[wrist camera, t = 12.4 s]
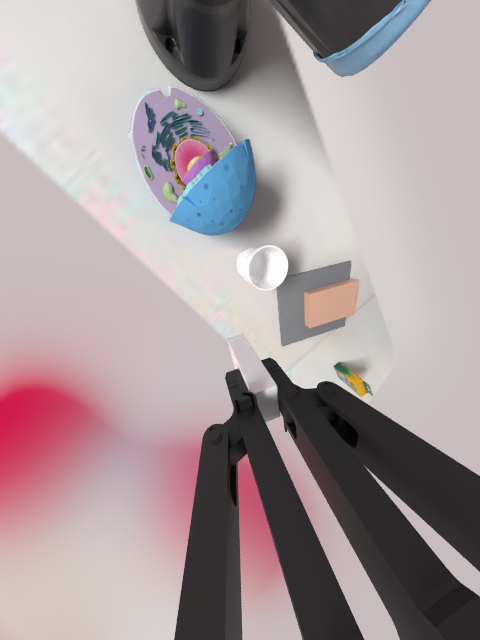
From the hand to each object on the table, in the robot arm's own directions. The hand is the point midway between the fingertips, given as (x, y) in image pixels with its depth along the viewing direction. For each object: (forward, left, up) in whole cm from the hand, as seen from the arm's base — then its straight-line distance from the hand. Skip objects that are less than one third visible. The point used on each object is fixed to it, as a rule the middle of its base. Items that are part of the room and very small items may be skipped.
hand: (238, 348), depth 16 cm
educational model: (-19, +2, -27) cm, 33 cm away
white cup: (-3, +11, -27) cm, 29 cm away
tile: (+12, +25, -25) cm, 37 cm away
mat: (+12, +28, -26) cm, 40 cm away
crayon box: (+41, +39, -27) cm, 63 cm away
